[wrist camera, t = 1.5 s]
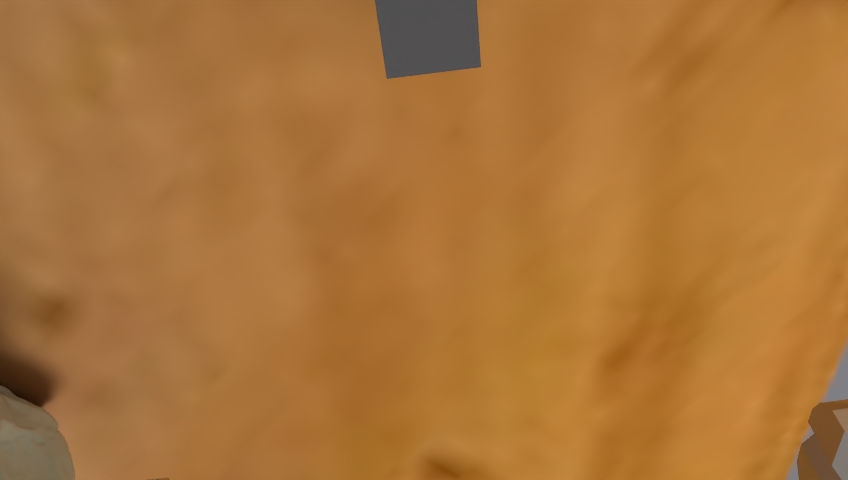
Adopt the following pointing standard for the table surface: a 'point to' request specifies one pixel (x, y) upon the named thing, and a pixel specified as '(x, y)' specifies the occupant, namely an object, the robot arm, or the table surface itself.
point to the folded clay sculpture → (31, 442)
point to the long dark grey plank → (428, 36)
